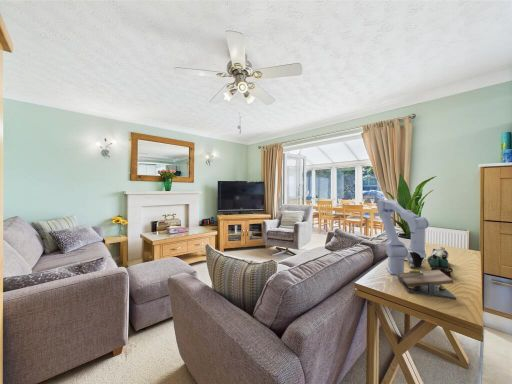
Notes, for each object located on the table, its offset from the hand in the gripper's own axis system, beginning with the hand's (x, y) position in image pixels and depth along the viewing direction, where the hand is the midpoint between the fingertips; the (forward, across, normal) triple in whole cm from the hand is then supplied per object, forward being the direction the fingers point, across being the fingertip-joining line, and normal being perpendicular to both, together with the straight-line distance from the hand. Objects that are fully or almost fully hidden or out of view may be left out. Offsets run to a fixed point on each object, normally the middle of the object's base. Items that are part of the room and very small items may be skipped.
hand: (417, 267), depth 104 cm
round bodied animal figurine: (+10, -30, +8) cm, 32 cm away
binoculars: (+10, -20, +19) cm, 29 cm away
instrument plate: (+5, +3, +2) cm, 6 cm away
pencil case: (+10, -36, +24) cm, 44 cm away
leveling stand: (+9, +3, +2) cm, 10 cm away
